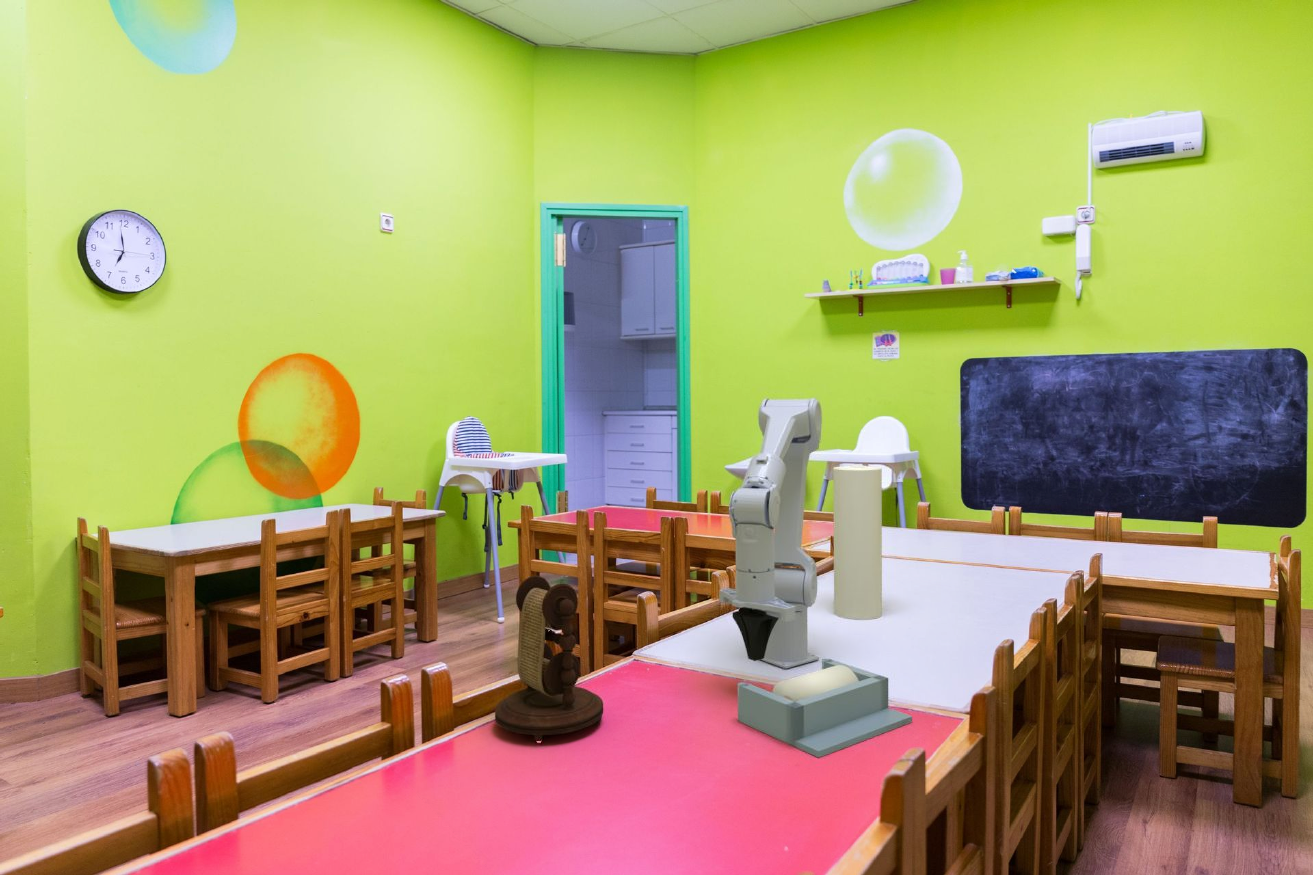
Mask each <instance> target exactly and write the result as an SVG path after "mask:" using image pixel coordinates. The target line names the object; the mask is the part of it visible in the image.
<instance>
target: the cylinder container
mask: <svg viewBox="0 0 1313 875" xmlns="http://www.w3.org/2000/svg"><path fill="white" fill-rule="evenodd" d="M832 469H833V470H832V471H833V473H832V474H833V475H832V476H833V477H832V480H833V486H832V487H833V488H832V489H833V613H834V615H835V616H837V617H840V618H843V619H847V620H861V621H864V620H875V619H878V618H881V617H882V615H883V579H882V578H883V550H882V549H883V545H882V544H883V543H882V542H883V536H882V533H883V525H882V524H883V523H882V522H883V521H882V519H883V518H882V515H883V514H882V512H883V511H882V509H883V508H882V507H883V505H882V503H883V502H882V499H883V498H882V497H883V496H882V495H883V494H882V493H883V492H882V489H883V488H882V486H883V485H882V484H883V483H882V480H883V479H882V477H883V476H882V467H880V466H879V467H878V466H873V465H872V466H871V465H870V466H869V465H861V464H853V465H846V466H845V465H843V466H834V467H833V468H832Z"/></svg>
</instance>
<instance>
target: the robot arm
mask: <svg viewBox="0 0 1313 875" xmlns="http://www.w3.org/2000/svg"><path fill="white" fill-rule="evenodd" d="M822 416H823V415H822V406H821V402H820V401H819V400H818V399H817V397H812V398H797V399H795V398H790V399H789V398H788V399H786V398H785V399H782V398H781V399H777V398H776V399H770V398H764V399H763V400H762V401H761V403H760V405H759V407H758V416H757V417H758V419H757V420H758V425H759V429H760V430H759V431H760V432H761V434H762V436H763V438H762V443H761V448H760V453H757V454H755V455H754V456H753V457H752V458H751V459H750V461H749V465H748V468H747V470H746V472H745V474H744V478H743V480H742V481H743V482H742V484H741V485H740V487H739V488H737V490H734V491H732V492H731V495H730V498H729V504H728V506H729V508H728V516H729V520H730V524H731V535H732V538H733V539H735V541H734V542H735V544H734V545H735V588H729V587H727V588H721V589H719V590H718V593H719V594H718V597H719V598H718V602H719V603H722V604H726V603H727V604H730V605H731V606H733V607H735V608H739V609H738V610H737V611H733V612H732V618H733V620H734V622H735V624H736V625H737V627H738V630H739V632H740V634H741V637H742V640H743V643H744V647H745V651H746V654H747V659H748V660H751V661H753V662H756V661H759V660H761V661H763V662H766V663H768V664H769V663H770V664H772V665H774V666H777V667H779V668H782V667H783V669H789V668H794V667H797V666H800V665H804V664H807V663H810V662H814V661H818V660H819V659H820V657H819V655H816V654H812V653H810V652H809V650H808V645H809V644H808V641H809V640H808V608H810V607H812V606H813V605H814V604H815V602H816V600H817V596H818V595H817V594H818V577H817V574H818V573H817V564H816V561H815V559H813V557H811V556H810V555H809V554H808V553H807V552H805V551H804V550H803V549H802V544H803V543H802V540H803V530H804V515H805V514H804V513H805V501H806V488H807V487H806V483H807V475H808V474H807V472H808V464H809V460H810V455H811V454H812V453H813V452H816V451H818V450H820V449H819V448H820V443H821V437H822V423H823V421H822V420H823V417H822ZM793 567H794V568H793Z"/></svg>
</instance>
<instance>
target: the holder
mask: <svg viewBox="0 0 1313 875" xmlns="http://www.w3.org/2000/svg"><path fill="white" fill-rule="evenodd" d="M836 665H843V666H846V667H848V668H849V669H850V670H852V671H853V673H854V674H855V675H856V677H857V678H858V680H859V682H856V683H853V684H849V685H846V686H843V687H840V688H837V689H834V690H830V691H827V692H824V693H821V694H818V695H815V696H811V697H808V698H805V699H802V700H799V701H796V702H794V701H792V700H789V699H787V698H784V697H782V696H779V695H777V694H774V693H772V691H768V690H767V689H764V688H761V687H759V686H756V685H754V684H751V683H749V682H744V681H742V682H738V683H737V721H738V722H739V723H741V724H744V725H747V726H748V727H751V728H752V729H755V730H757V731H759V732H762V733H764V734H766V735H768V736H771V737H773V738H775V739H777V740H779V741H781V742H783V743H786V744H788V745H790V746H792V747H794V748H796V749H799V750H801V751H803V752H805V753H807V754H809V755H812V756H814V757H816V758H822V757H824V756H827V755H829V754H832V753H834V752H837V751H841V750H843V749H846V748H848V747H850V746H854V745H855V744H858V743H861V742H863V741H866V740H869V739H872V738H875V737H877V736H879V735H882V734H884V733H887V732H888V733H889V732H891V731H892V730H895V729H899V728H901V727H903V726H906V725H908V724H910V723H913V716H912V715H910V714H907V713H905V712H902V711H899V710H896V709H893V708H890V707H889V677H886V676H884V675H880V674H877V673H875V672H871V671H868V670H865V669H862V668H860V667H859V668H858V667H856V666H853V665H849V664H846V663H843V662H840V661H837V660H834V659H832V658H823V659H821V670H822V669H826V668H829V667H833V666H836Z"/></svg>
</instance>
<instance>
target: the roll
mask: <svg viewBox="0 0 1313 875" xmlns="http://www.w3.org/2000/svg"><path fill="white" fill-rule="evenodd" d="M856 682H859V680H858V678H857V677H856V675H855V674H854V673H853V671H852V670H850V669H849V668H848V667H846V666H843V665H836V666H833V667H829V668H826V669H822V668H821V669H819V670H816V671H812V672H809V673H805V674H803V675H799V676H795V677H792V678H788V679H785V680H782V681H778V682H777V683H776V684H774V686H773V688H772V691H771V692H772V693H774V694H777V695H779V696H782V697H784V698H787V699H789V700H792V701H794V702H796V701H799V700H802V699H805V698H808V697H811V696H815V695H818V694H821V693H824V692H827V691H830V690H834V689H837V688H840V687H843V686H846V685H849V684H853V683H856Z"/></svg>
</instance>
